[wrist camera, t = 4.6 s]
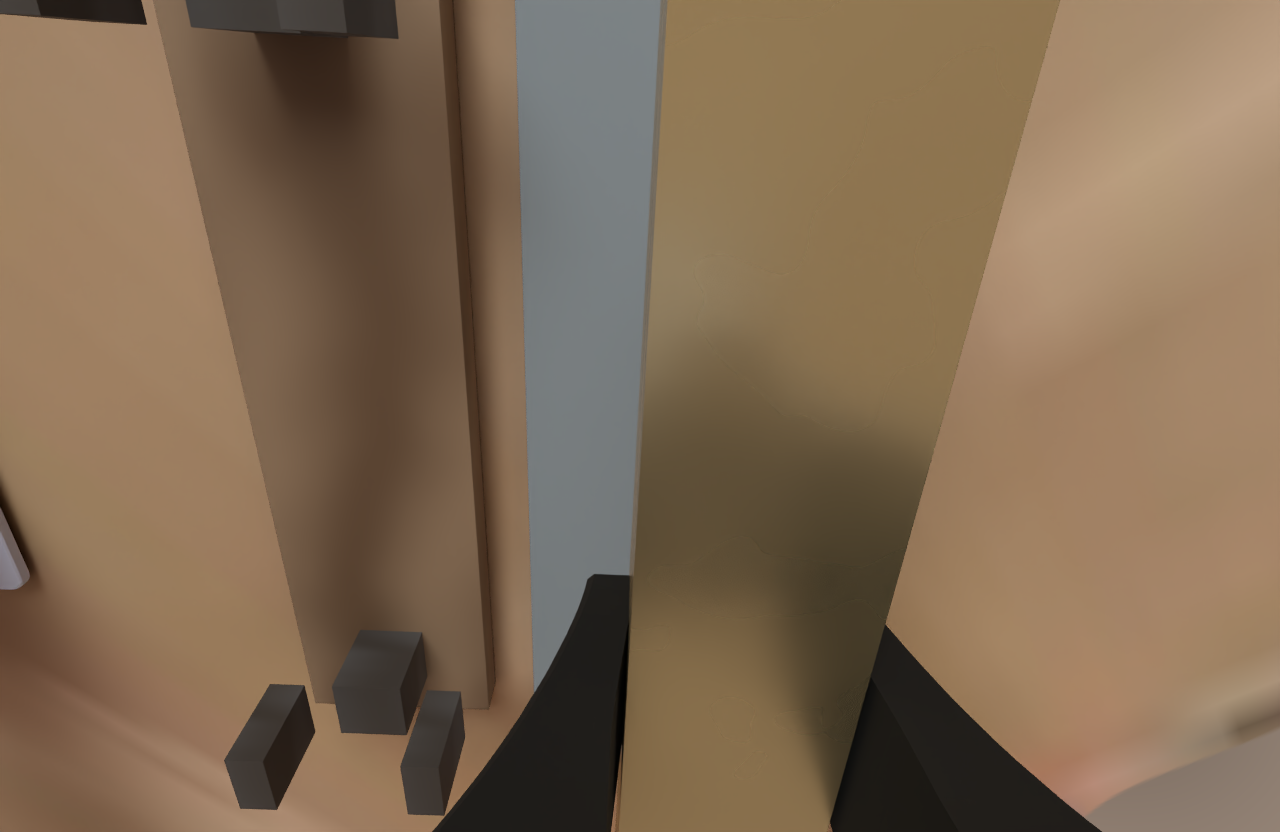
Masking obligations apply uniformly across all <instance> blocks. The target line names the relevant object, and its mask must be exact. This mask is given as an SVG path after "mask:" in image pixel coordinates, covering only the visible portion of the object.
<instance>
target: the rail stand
mask: <svg viewBox="0 0 1280 832" xmlns="http://www.w3.org/2000/svg"><path fill="white" fill-rule="evenodd" d="M153 2H154V6H155V11H156V15H157V19H158V24H159V28H160V32H161V37H162V41H163V45H164V50H165V54H166V58H167V63H168V67H169V71H170V76H171V80H172V84H173V89H174V93H175V97H176V102H177V106H178V110H179V115H180V119H181V123H182V127H183V132H184V136H185V140H186V145H187V149H188V153H189V158H190V162H191V166H192V171H193V175H194V179H195V184H196V188H197V192H198V197H199V201H200V205H201V210H202V214H203V218H204V223H205V227H206V231H207V235H208V240H209V244H210V248H211V253H212V257H213V261H214V266H215V270H216V274H217V279H218V283H219V287H220V292H221V296H222V300H223V305H224V309H225V313H226V318H227V322H228V326H229V331H230V335H231V339H232V344H233V348H234V352H235V356H236V361H237V365H238V369H239V374H240V378H241V382H242V387H243V391H244V395H245V400H246V404H247V408H248V413H249V417H250V421H251V426H252V430H253V434H254V439H255V443H256V447H257V452H258V456H259V460H260V464H261V469H262V473H263V477H264V482H265V486H266V490H267V495H268V499H269V503H270V508H271V512H272V516H273V521H274V525H275V529H276V534H277V538H278V542H279V547H280V551H281V555H282V560H283V564H284V568H285V573H286V577H287V581H288V585H289V590H290V594H291V598H292V603H293V607H294V611H295V616H296V620H297V624H298V629H299V633H300V637H301V642H302V646H303V650H304V655H305V659H306V663H307V668H308V672H309V676H310V681H311V685H312V689H313V694H314V698H315V702H316V703H328V704H335V705H336V709H337V714H338V719H339V723H340V728H341V733H362V734H389V735H407V733H408V730H409V727H410V724H411V721H412V719H413V716H414V713H415V710H416V707H421V708H420V711H419V714H418V717H417V720H416V723H415V726H414V729H413V732H412V734H411V737H410V740H409V743H408V746H407V749H406V752H405V755H404V758H403V760H402V763H401V766H400V768H401V774H402V780H403V786H404V792H405V798H406V805H407V811H408V814H413V815H441V816H444V815H445V811H446V807H447V804H448V800H449V796H450V792H451V789H452V785H453V781H454V777H455V773H456V770H457V766H458V762H459V758H460V755H461V751H462V747H463V743H464V740H465V731H464V721H463V710H462V709H487V710H489V707H490V702H491V698H492V694H493V690H494V686H495V669H494V653H493V637H492V621H491V605H490V589H489V573H488V557H487V541H486V525H485V509H484V493H483V477H482V461H481V445H480V429H479V413H478V397H477V381H476V365H475V349H474V333H473V317H472V301H471V285H470V269H469V253H468V237H467V221H466V205H465V189H464V173H463V157H462V141H461V125H460V109H459V93H458V77H457V61H456V45H455V29H454V13H453V0H153ZM0 14H7V15H19V16H31V17H43V18H55V19H67V20H79V21H91V22H108V23H125V24H143V25H147V23H146V18H145V14H144V10H143V6H142V2H141V0H0ZM314 734H315V728H314V724H313V720H312V715H311V711H310V707H309V703H308V699H307V694H306V690H305V686H304V685H279V684H270V685H269V687H268V689H267V690H266V692H265V694H264V695H263V697H262V699H261V700H260V702H259V703H258V705H257V707H256V708H255V710H254V712H253V713H252V715H251V717H250V718H249V720H248V722H247V723H246V725H245V727H244V728H243V730H242V732H241V733H240V735H239V737H238V738H237V740H236V742H235V743H234V745H233V747H232V748H231V750H230V751H229V753H228V755H227V756H226V758H225V760H224V761H225V764H226V767H227V770H228V773H229V776H230V779H231V782H232V785H233V788H234V791H235V794H236V797H237V800H238V803H239V806H240V809H268V810H277V809H278V807H279V805H280V803H281V801H282V799H283V796H284V794H285V792H286V790H287V788H288V786H289V784H290V782H291V780H292V778H293V776H294V774H295V772H296V770H297V768H298V766H299V764H300V762H301V760H302V758H303V756H304V754H305V752H306V750H307V748H308V746H309V744H310V742H311V740H312V738H313V736H314Z"/></svg>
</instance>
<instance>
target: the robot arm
mask: <svg viewBox="0 0 1280 832" xmlns="http://www.w3.org/2000/svg"><path fill="white" fill-rule="evenodd" d="M29 578H30V575H29V571H28V568H27V566H26V564H25V562H24V559H23V557H22V555H21V553H20V550H19V548H18V546H17V544H16V541H15V539H14V537H13V535H12V532H11V530H10V528H9V526H8V523H7V521H6V519H5V517H4V514H3V512H2V510H1V508H0V589H6V590H13V589H18V588H20V587H21V586H22V585H24V584H25V583H26V582H27V581H28V580H29ZM629 591H630V575H609V574H594V575H592V576H591V577H589V578H588V579H587V582H586V586H585V590H584V593H583V596H582V599H581V602H580V604H579V607H578V610H577V612H576V614H575V617H574V619H573V621H572V623H571V626H570V628H569V630H568V632H567V634H566V636H565V638H564V640H563V642H562V644H561V646H560V648H559V650H558V652H557V654H556V656H555V657H554V659H553V661H552V663H551V665H550V667H549V669H548V671H547V672H546V674H545V676H544V678H543V679H542V681H541V683H540V684H539V686H538V688H537V689H536V691H535V693H534V694H533V696H532V697H531V699H530V701H529V702H528V704H527V706H526V707H525V709H524V711H523V712H522V714H521V715H520V717H519V719H518V720H517V722H516V723H515V725H514V726H513V728H512V729H511V731H510V732H509V734H508V735H507V736H506V738H505V739H504V741H503V742H502V744H501V745H500V746H499V748H498V749H497V751H496V752H495V753H494V755H493V756H492V757H491V759H490V760H489V762H488V763H487V764H486V766H485V767H484V768H483V770H482V771H481V772H480V774H479V775H478V776H477V778H476V779H475V780H474V781H473V783H472V784H471V785H470V786H469V788H468V789H467V790H466V791H465V793H464V794H463V795H462V796H461V798H460V799H459V800H458V802H457V803H456V804H455V805H454V807H453V808H452V809H451V810H450V811H449V813H448V814H447V815H446V816H445V817H444V819H443V820H442V821H441V822H440V823H439V825H438V826H437V827H436V828H435V829H434V830H433V832H611V826H612V818H613V810H614V802H615V794H616V786H617V778H618V770H619V762H620V754H621V746H622V733H623V715H624V697H625V680H626V662H627V644H628V627H629ZM830 824H831V827H832V831H833V832H1102V831H1100V830H1099V829H1098V828H1097V827H1095V826H1094V825H1093V824H1091V823H1090V822H1089V821H1087V820H1086V819H1085V818H1084V817H1082V816H1081V815H1080V814H1079V813H1078V812H1076V811H1075V810H1074V809H1073V808H1071V807H1070V806H1069V805H1068V804H1066V803H1065V802H1064V801H1063V800H1062V799H1060V798H1059V797H1058V796H1057V795H1056V794H1054V793H1053V792H1052V791H1051V790H1050V789H1049V788H1048V787H1046V786H1045V785H1044V784H1043V783H1042V782H1041V781H1040V780H1038V779H1037V778H1036V777H1035V776H1034V775H1033V774H1031V773H1030V772H1029V771H1028V770H1027V769H1026V768H1025V767H1023V766H1022V765H1021V764H1020V763H1019V762H1018V761H1016V760H1015V759H1014V758H1013V757H1012V756H1011V755H1010V754H1009V753H1008V752H1007V751H1006V750H1004V749H1003V748H1002V747H1001V746H1000V745H999V744H998V743H997V742H996V741H995V740H994V739H993V738H992V737H991V736H990V735H989V734H988V733H987V732H986V731H985V730H983V729H982V728H981V727H980V726H979V725H978V724H977V723H976V722H975V721H974V720H973V719H972V718H971V717H970V716H969V715H968V714H967V713H966V712H965V711H964V710H963V709H962V708H961V707H960V706H959V705H958V704H957V703H956V702H955V701H954V700H953V699H952V698H951V697H950V696H949V695H948V694H947V692H946V691H945V690H944V689H943V688H942V687H941V686H940V685H939V684H938V683H937V682H936V681H935V680H934V678H933V677H932V676H931V675H930V674H929V673H928V672H927V671H926V670H925V669H924V668H923V667H922V665H921V664H920V663H919V662H918V661H917V660H916V659H915V658H914V657H913V656H912V654H911V653H910V652H909V651H908V650H907V649H906V648H905V647H904V645H903V644H902V643H901V642H900V641H899V640H898V638H897V637H896V636H895V635H894V634H893V633H892V632H891V630H890V629H889V628H888V627H887V626H886V625H885V627H884V630H883V634H882V637H881V641H880V644H879V648H878V652H877V655H876V659H875V662H874V666H873V669H872V673H871V677H870V680H869V684H868V687H867V691H866V694H865V698H864V702H863V705H862V709H861V712H860V716H859V719H858V723H857V727H856V730H855V734H854V737H853V741H852V744H851V748H850V752H849V755H848V759H847V762H846V766H845V769H844V773H843V776H842V780H841V784H840V787H839V791H838V794H837V798H836V801H835V805H834V809H833V812H832V816H831V819H830Z"/></svg>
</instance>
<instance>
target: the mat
mask: <svg viewBox="0 0 1280 832" xmlns="http://www.w3.org/2000/svg"><path fill="white" fill-rule="evenodd" d="M660 2H661V0H515V13H516V50H517V86H518V123H519V160H520V196H521V233H522V269H523V306H524V343H525V379H526V416H527V453H528V489H529V526H530V562H531V599H532V636H533V672H534V693H535V691H536V689H537V688H538V686H539V684H540V683H541V681H542V679H543V678H544V676H545V674H546V672H547V671H548V669H549V667H550V665H551V663H552V661H553V659H554V657H555V656H556V654H557V652H558V650H559V648H560V646H561V644H562V642H563V640H564V638H565V636H566V634H567V632H568V630H569V628H570V626H571V623H572V621H573V619H574V617H575V614H576V612H577V610H578V607H579V604H580V602H581V599H582V596H583V593H584V590H585V586H586V582H587V579H588V578H589V577H591V576H592V575H594V574H609V575H629V568H630V550H631V532H632V514H633V495H634V477H635V459H636V440H637V422H638V404H639V386H640V367H641V349H642V331H643V313H644V294H645V276H646V258H647V239H648V221H649V203H650V185H651V166H652V148H653V130H654V111H655V93H656V75H657V57H658V38H659V20H660Z"/></svg>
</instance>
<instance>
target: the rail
mask: <svg viewBox="0 0 1280 832" xmlns="http://www.w3.org/2000/svg"><path fill="white" fill-rule="evenodd" d="M1059 2H1060V0H661V2H660V20H659V38H658V57H657V75H656V93H655V111H654V130H653V148H652V166H651V185H650V203H649V221H648V239H647V258H646V276H645V294H644V313H643V331H642V349H641V367H640V386H639V404H638V422H637V440H636V459H635V477H634V495H633V514H632V532H631V550H630V568H629V575H630V591H629V627H628V644H627V662H626V680H625V697H624V715H623V733H622V746H621V754H620V762H619V770H618V788H617V806H616V824H615V832H827V830H828V826H829V823H830V819H831V816H832V812H833V809H834V805H835V801H836V798H837V794H838V791H839V787H840V784H841V780H842V776H843V773H844V769H845V766H846V762H847V759H848V755H849V752H850V748H851V744H852V741H853V737H854V734H855V730H856V727H857V723H858V719H859V716H860V712H861V709H862V705H863V702H864V698H865V694H866V691H867V687H868V684H869V680H870V677H871V673H872V669H873V666H874V662H875V659H876V655H877V652H878V648H879V644H880V641H881V637H882V634H883V630H884V627H885V623H886V619H887V616H888V612H889V609H890V605H891V602H892V598H893V594H894V591H895V587H896V584H897V580H898V577H899V573H900V569H901V566H902V562H903V559H904V555H905V552H906V548H907V545H908V541H909V537H910V534H911V530H912V527H913V523H914V520H915V516H916V512H917V509H918V505H919V502H920V498H921V495H922V491H923V487H924V484H925V480H926V477H927V473H928V470H929V466H930V462H931V459H932V455H933V452H934V448H935V445H936V441H937V437H938V434H939V430H940V427H941V423H942V420H943V416H944V412H945V409H946V405H947V402H948V398H949V395H950V391H951V387H952V384H953V380H954V377H955V373H956V370H957V366H958V362H959V359H960V355H961V352H962V348H963V345H964V341H965V338H966V334H967V330H968V327H969V323H970V320H971V316H972V313H973V309H974V305H975V302H976V298H977V295H978V291H979V288H980V284H981V280H982V277H983V273H984V270H985V266H986V263H987V259H988V255H989V252H990V248H991V245H992V241H993V238H994V234H995V230H996V227H997V223H998V220H999V216H1000V213H1001V209H1002V205H1003V202H1004V198H1005V195H1006V191H1007V188H1008V184H1009V180H1010V177H1011V173H1012V170H1013V166H1014V163H1015V159H1016V155H1017V152H1018V148H1019V145H1020V141H1021V138H1022V134H1023V131H1024V127H1025V123H1026V120H1027V116H1028V113H1029V109H1030V106H1031V102H1032V98H1033V95H1034V91H1035V88H1036V84H1037V81H1038V77H1039V73H1040V70H1041V66H1042V63H1043V59H1044V56H1045V52H1046V48H1047V45H1048V41H1049V38H1050V34H1051V31H1052V27H1053V23H1054V20H1055V16H1056V13H1057V9H1058V6H1059Z"/></svg>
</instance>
